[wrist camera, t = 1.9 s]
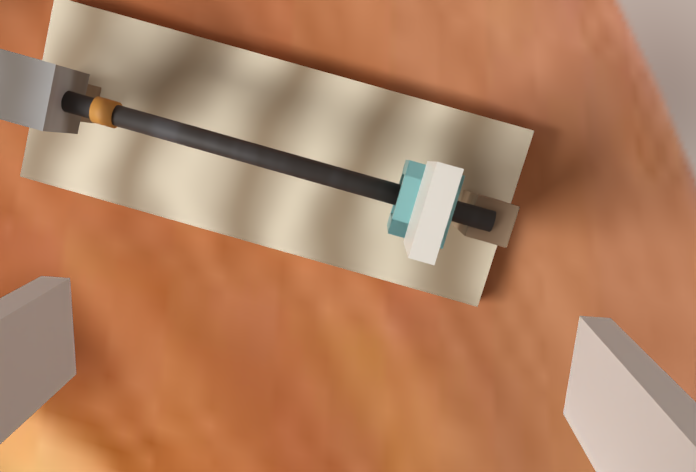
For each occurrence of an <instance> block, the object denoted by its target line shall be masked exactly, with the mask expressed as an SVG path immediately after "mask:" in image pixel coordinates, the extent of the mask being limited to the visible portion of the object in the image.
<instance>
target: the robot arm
mask: <svg viewBox="0 0 696 472" xmlns="http://www.w3.org/2000/svg"><path fill="white" fill-rule="evenodd" d="M75 375H76V360H75V345H74V330H73V315H72V300H71V285H70V278H61V277H48V276H41V277H39V278H37V279H35V280H33V281H31V282H29V283H28V284H26V285H24V286H22V287H20V288H18V289H16V290H15V291H13V292H11V293H9V294H7V295H5V296H3V297H2V298H0V444H1V443H2V442H3V441H4V440H5V439H6V438H8V437H9V436H10V435H11V434H12V433H13V432H14V431H15V430H16V429H17V428H18V427H19V426H21V425H22V424H23V423H24V422H25V421H26V420H27V419H28V418H29V417H30V416H31V415H32V414H34V413H35V412H36V411H37V410H38V409H39V408H40V407H41V406H42V405H43V404H44V403H46V402H47V401H48V400H49V399H50V398H51V397H52V396H53V395H54V394H55V393H56V392H57V391H59V390H60V389H61V388H62V387H63V386H64V385H65V384H66V383H67V382H68V381H69V380H70V379H72V378H73V377H74V376H75ZM563 414H564V416H565V418H566V419H567V421H568V423H569V425H570V427H571V428H572V430H573V432H574V434H575V435H576V437H577V439H578V441H579V442H580V444H581V446H582V448H583V450H584V451H585V453H586V455H587V457H588V458H589V460H590V462H591V464H592V465H593V467H594V469H595V471H596V472H696V402H695V401H694V400H693V399H692V398H691V397H690V396H689V395H688V394H687V393H686V392H685V391H684V390H683V389H682V388H681V387H680V386H679V385H678V384H677V383H676V382H675V381H674V380H673V379H672V378H671V377H670V376H669V375H668V374H667V373H666V372H665V371H664V370H662V369H661V368H660V367H659V366H658V365H657V364H656V363H655V362H654V361H653V360H652V359H651V358H650V357H649V356H648V355H647V354H646V353H645V352H644V351H643V350H642V349H641V348H640V347H639V346H638V345H637V344H636V343H635V342H634V341H633V340H632V339H631V338H630V337H629V336H628V335H627V334H626V333H625V332H624V331H623V330H622V329H621V328H620V327H619V326H618V325H617V324H616V323H615V322H614V321H613V320H612V319H611V318H601V317H588V316H580V317H579V323H578V329H577V334H576V340H575V346H574V352H573V358H572V364H571V370H570V376H569V382H568V388H567V394H566V400H565V406H564V412H563Z"/></svg>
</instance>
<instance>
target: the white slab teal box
mask: <svg viewBox="0 0 696 472" xmlns="http://www.w3.org/2000/svg"><path fill="white" fill-rule="evenodd" d="M463 171H464V169H462V168H458V167H455V166H451V165H448V164H444V163H441V162H436V161H427V164H426V165H425V164H422V163H418V162H415V161H411V160H406V161H405V164H404V168H403V171H402V175H401V178H400V181H399V184H401V188H400V191H399V195H398V198H397V202H396V205H392V209H391V212H390V216H389V219H388V223H387V230H388V234H391V235H395V236H399V237H402V238H404V241H403V242H404V246H405V249H406V252H407V256H408V258H410V259H413V260H417V261H420V262H424V263H427V264H431V265H435V262H436V258H437V255H438V252H439V249H440V248H441V249H443V246H444V243H445V240H446V236H447V233H448V230H449V227H450V224H451V220H452V217H453V214H454V211H455V207H456V204H457V201H458V198H459V194H460V191H461V188H462V185H463V181H464V178H465V176H464V175H462V174H463Z"/></svg>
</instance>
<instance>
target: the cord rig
mask: <svg viewBox="0 0 696 472" xmlns="http://www.w3.org/2000/svg"><path fill="white" fill-rule="evenodd" d="M0 119H2V120H5V121H9V122H12V123H16V124H19V125H23V126H26V127H30V128H29V133H28V138H27V143H26V148H25V154H24V159H23V164H22V169H21V174H20V176H21V177H24V178H28V179H31V180H35V181H38V182H42V183H45V184H49V185H52V186H56V187H59V188H63V189H66V190H70V191H73V192H77V193H80V194H84V195H87V196H91V197H94V198H98V199H101V200H105V201H108V202H112V203H115V204H119V205H122V206H126V207H129V208H133V209H136V210H140V211H143V212H147V213H150V214H154V215H157V216H161V217H164V218H168V219H171V220H175V221H178V222H182V223H185V224H189V225H193V226H196V227H200V228H203V229H207V230H210V231H214V232H217V233H221V234H224V235H228V236H231V237H235V238H238V239H242V240H245V241H249V242H252V243H256V244H259V245H263V246H266V247H270V248H273V249H277V250H280V251H284V252H287V253H291V254H294V255H298V256H301V257H305V258H308V259H312V260H315V261H319V262H322V263H326V264H329V265H333V266H336V267H340V268H343V269H347V270H350V271H354V272H357V273H361V274H364V275H368V276H371V277H375V278H378V279H382V280H385V281H389V282H392V283H396V284H399V285H403V286H407V287H410V288H414V289H417V290H421V291H424V292H428V293H431V294H435V295H438V296H442V297H445V298H449V299H452V300H456V301H459V302H463V303H466V304H470V305H473V306H477V307H478V304H479V301H480V298H481V294H482V291H483V288H484V285H485V282H486V279H487V276H488V273H489V270H490V267H491V263H492V260H493V257H494V254H495V251H496V248H497V245H498V246H501V247H505V248H507V245H508V242H509V239H510V236H511V233H512V229H513V226H514V223H515V220H516V217H517V214H518V211H519V208H520V207H519V206H516V205H513V204H511V201H512V198H513V195H514V192H515V189H516V186H517V183H518V180H519V177H520V173H521V170H522V167H523V164H524V161H525V158H526V155H527V152H528V149H529V146H530V142H531V139H532V136H533V133H534V131H533V130H530V129H526V128H523V127H519V126H516V125H512V124H508V123H505V122H501V121H498V120H494V119H491V118H487V117H483V116H480V115H476V114H473V113H469V112H466V111H462V110H459V109H455V108H451V107H448V106H444V105H441V104H437V103H434V102H430V101H426V100H423V99H419V98H416V97H412V96H409V95H405V94H401V93H398V92H394V91H391V90H387V89H384V88H380V87H376V86H373V85H369V84H366V83H362V82H359V81H355V80H351V79H348V78H344V77H341V76H337V75H334V74H330V73H327V72H323V71H319V70H316V69H312V68H309V67H305V66H302V65H298V64H294V63H291V62H287V61H284V60H280V59H277V58H273V57H269V56H266V55H262V54H259V53H255V52H252V51H248V50H244V49H241V48H237V47H234V46H230V45H227V44H223V43H219V42H216V41H212V40H209V39H205V38H202V37H198V36H195V35H191V34H187V33H184V32H180V31H177V30H173V29H170V28H166V27H162V26H159V25H155V24H152V23H148V22H145V21H141V20H137V19H134V18H130V17H127V16H123V15H120V14H116V13H112V12H109V11H105V10H102V9H98V8H95V7H91V6H88V5H84V4H80V3H77V2H73V1H70V0H54V3H53V8H52V13H51V19H50V24H49V29H48V34H47V39H46V45H45V50H44V55H43V60H38V59H35V58H31V57H28V56H24V55H21V54H17V53H14V52H10V51H6V50H3V49H0ZM406 160H411V161H415V162H418V163H422V164H425V165H426V164H427V161H436V162H441V163H444V164H448V165H451V166H455V167H458V168H462V169H464V171H463V174H462V175H464V176H465V178H464V181H463V185H462V188H461V191H460V194H459V198H458V201H457V204H456V207H455V211H454V214H453V217H452V220H451V224H450V227H449V230H448V233H447V236H446V240H445V243H444V246H443V249H441V248H440V249H439V252H438V255H437V258H436V262H435V265H431V264H427V263H424V262H420V261H417V260H413V259H410V258H408V256H407V252H406V249H405V246H404V242H403V241H404V238H402V237H399V236H395V235H391V234H388V230H387V223H388V219H389V216H390V212H391V209H392V205H396V202H397V198H398V195H399V191H400V188H401V184H399V181H400V178H401V175H402V171H403V168H404V164H405V161H406Z"/></svg>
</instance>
